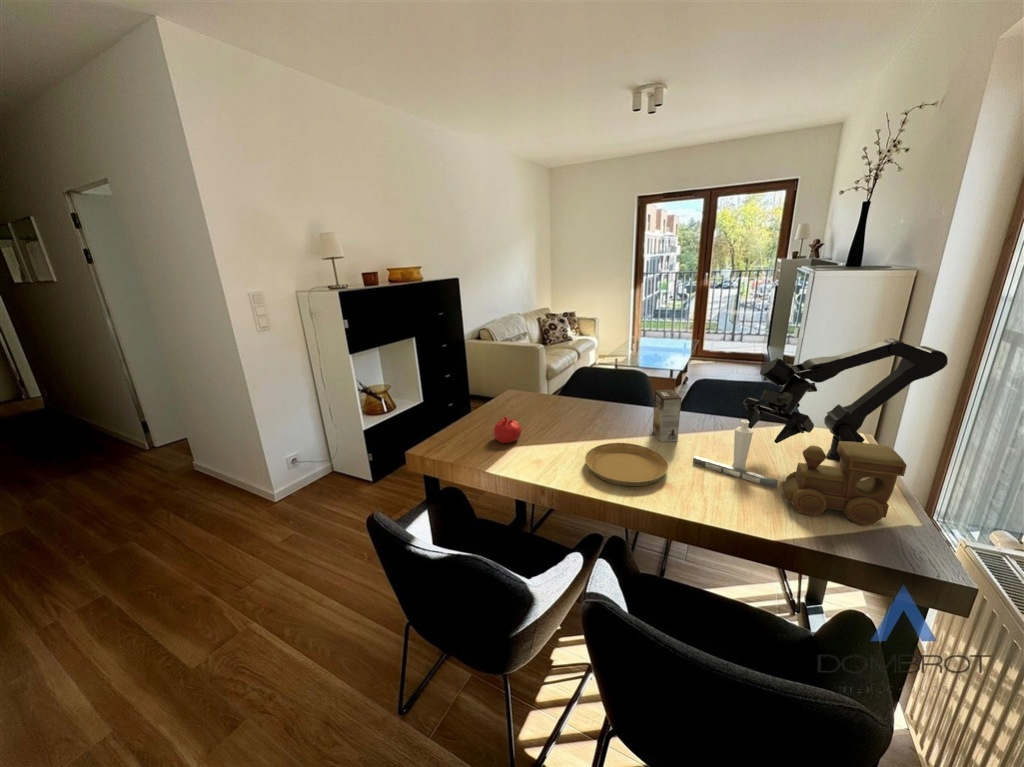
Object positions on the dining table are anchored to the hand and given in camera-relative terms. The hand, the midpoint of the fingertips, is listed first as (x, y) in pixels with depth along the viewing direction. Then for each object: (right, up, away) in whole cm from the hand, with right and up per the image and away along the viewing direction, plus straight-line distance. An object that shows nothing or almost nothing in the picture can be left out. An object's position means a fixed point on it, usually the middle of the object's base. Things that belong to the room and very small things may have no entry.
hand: (760, 436), depth 120 cm
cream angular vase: (-6, -10, 0) cm, 12 cm away
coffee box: (-20, -3, +23) cm, 30 cm away
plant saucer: (-39, -11, +3) cm, 41 cm away
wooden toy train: (+5, -15, -21) cm, 26 cm away
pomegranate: (-75, -5, +27) cm, 80 cm away
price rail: (-10, -11, -3) cm, 15 cm away
